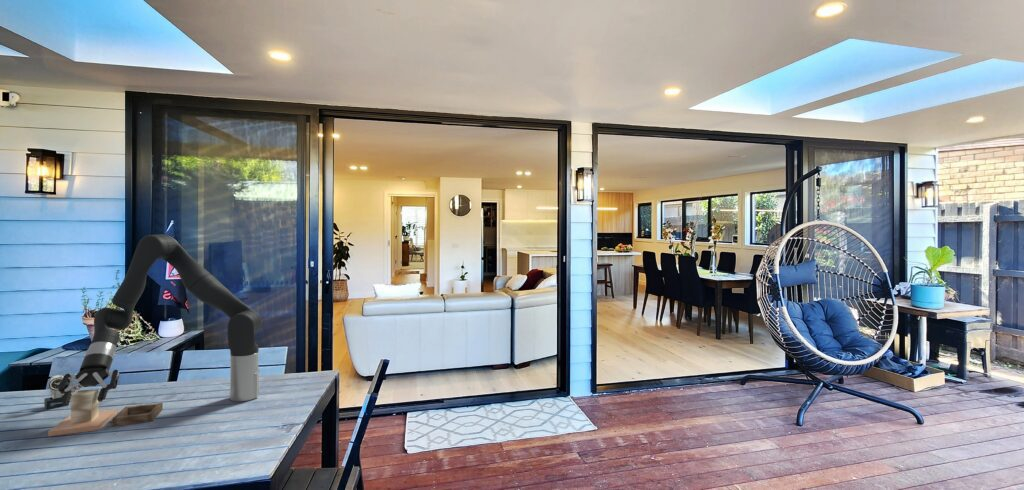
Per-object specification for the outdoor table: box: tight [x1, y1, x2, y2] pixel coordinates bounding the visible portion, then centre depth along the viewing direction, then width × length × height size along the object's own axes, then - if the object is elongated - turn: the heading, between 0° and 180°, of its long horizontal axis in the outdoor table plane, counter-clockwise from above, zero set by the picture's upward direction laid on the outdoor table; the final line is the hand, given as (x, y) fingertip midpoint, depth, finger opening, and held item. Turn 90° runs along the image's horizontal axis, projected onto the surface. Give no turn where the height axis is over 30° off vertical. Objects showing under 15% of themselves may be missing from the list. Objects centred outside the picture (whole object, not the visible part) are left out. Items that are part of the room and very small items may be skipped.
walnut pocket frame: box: [111, 402, 163, 427], centre depth 148 cm, size 10×10×2 cm
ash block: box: [70, 388, 100, 424], centre depth 142 cm, size 5×5×9 cm
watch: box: [43, 374, 70, 411], centre depth 156 cm, size 6×8×11 cm
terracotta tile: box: [47, 408, 118, 437], centre depth 142 cm, size 12×14×2 cm
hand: (82, 402), depth 141 cm, fingers open, 8 cm apart
